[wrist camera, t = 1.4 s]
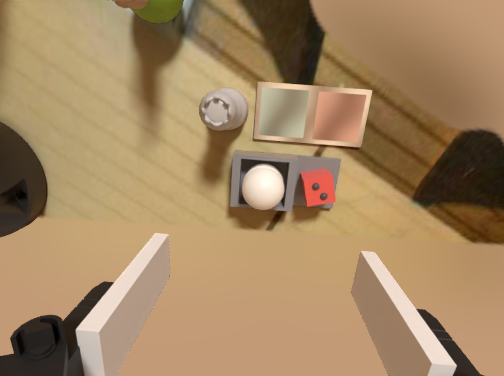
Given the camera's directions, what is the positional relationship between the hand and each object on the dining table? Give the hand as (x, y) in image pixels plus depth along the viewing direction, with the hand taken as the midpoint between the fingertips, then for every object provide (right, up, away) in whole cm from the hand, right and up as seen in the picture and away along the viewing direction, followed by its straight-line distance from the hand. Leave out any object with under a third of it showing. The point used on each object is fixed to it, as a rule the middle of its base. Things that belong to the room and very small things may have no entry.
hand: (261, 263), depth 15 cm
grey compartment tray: (+3, +5, +17) cm, 18 cm away
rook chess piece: (-3, +13, +15) cm, 20 cm away
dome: (+1, +5, +15) cm, 16 cm away
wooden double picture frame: (+6, +12, +15) cm, 20 cm away
